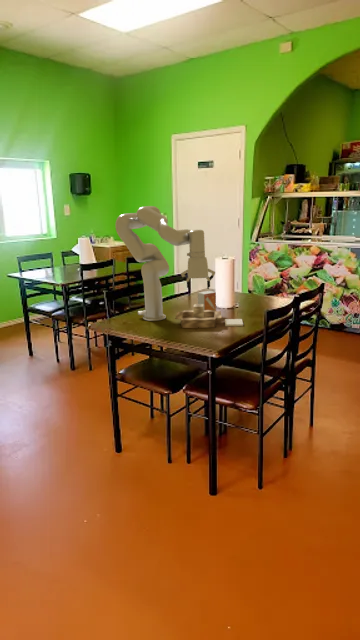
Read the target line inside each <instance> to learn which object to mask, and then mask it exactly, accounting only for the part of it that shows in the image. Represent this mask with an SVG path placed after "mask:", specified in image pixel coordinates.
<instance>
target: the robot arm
mask: <svg viewBox="0 0 360 640" xmlns="http://www.w3.org/2000/svg"><path fill="white" fill-rule="evenodd" d="M144 227H149V228H151V229H152V230H154V231H156V232H157V233H158V235H159V237H160V238H161V239H162V240H163V241H165V242H167V243H168V244H170V245H172V246H175V247H181V246H186V245H189V246H188V247H189V252H186V257H189V258H188V259H187V269H186V270H184V271H182V272H180V275H181V277H182V279H183V280H184V281H185V282H186V288H187V289H188V291H191V281H190V280H191V279H205V280H207V281H206V282H207V283H206V288H207V290H210V287H211V280H213V278H214V276H215V275H216V271H214V270H212V269H210V268H209V266H208V259H207V257H206V252H205V251H206V250H205V248H206V246H205V244H206V243H205V232H204V230H203V229H179V230H177V229H175V228H173V227H171V226H170V225H169V224H168V218H167V217H166V216H164V215H162V214H161V211H160V208H158V207H157V206H154V205H146V206H141V207H139V208H138V209H137V211H136V212H130V213H129V212H128V213H127V212H126V213H123V214H122V213H121V214H120V215H119V216H118V217H116V220H115V231H116V233H117V235H118V237H119V238H120V240H121V241H122V242H123V244H124V245H125V246H126V248H127V249H128V251H129V253H130V254H131V255H132V257H133V258H134V259H135V261H136V262H139V263H143V264H142V266H141V270H140V273H141V276H142V281H143V291H144V292H143V293H144V308H145V309H144V310H138V311H137V315H139V316H142V319H143V320H144V321H147V322H148V321H150V322H156V321H158V322H159V321H162V320H165V319H166V317H167V316H166V314H164V308H163V289H162V283H161V280H160V278H162V277H164V276H166V275H167V274H168V273H169V271H170V265H169V263H168V260H167V259H166V258H165V256H164V255H163V254H162V252H161V250H160V249H159V248H158V247H157V245H155V244H154V243H149V242H148V243H144V242H143V241H142V240H141V238H140V236H139V235H138V234H137V233H136V232H134V230H135V229H142V228H144ZM209 273H210V274H211V275H210V276H209ZM186 274H187V276H186Z"/></svg>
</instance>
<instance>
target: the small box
mask: <svg viewBox="0 0 360 640" xmlns="http://www.w3.org/2000/svg"><path fill="white" fill-rule="evenodd" d="M216 300H217V295H216V291H213V290H207V291H200V292H197V304H203V307H204V310H215V311H217V302H216Z"/></svg>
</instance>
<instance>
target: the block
mask: <svg viewBox="0 0 360 640" xmlns="http://www.w3.org/2000/svg"><path fill="white" fill-rule="evenodd" d="M192 310H193V313H194V318H204V307H203V304H198V303H194V304H193V308H192Z"/></svg>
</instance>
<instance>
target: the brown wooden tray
mask: <svg viewBox="0 0 360 640" xmlns="http://www.w3.org/2000/svg"><path fill="white" fill-rule="evenodd" d="M174 319H175V320H180V324H181V329H185V328H186V329H188V328H189V329H190V328H198V327H199V328H200V329H202V328H216V320H217V319H222V311H221V310H218V311H217V310H216V311H215V310H204V318H194V313H193V309H191V310H190V309H188V310H187V309H185V310H182V311H176V315H175V318H174ZM199 328H198V329H199Z"/></svg>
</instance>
